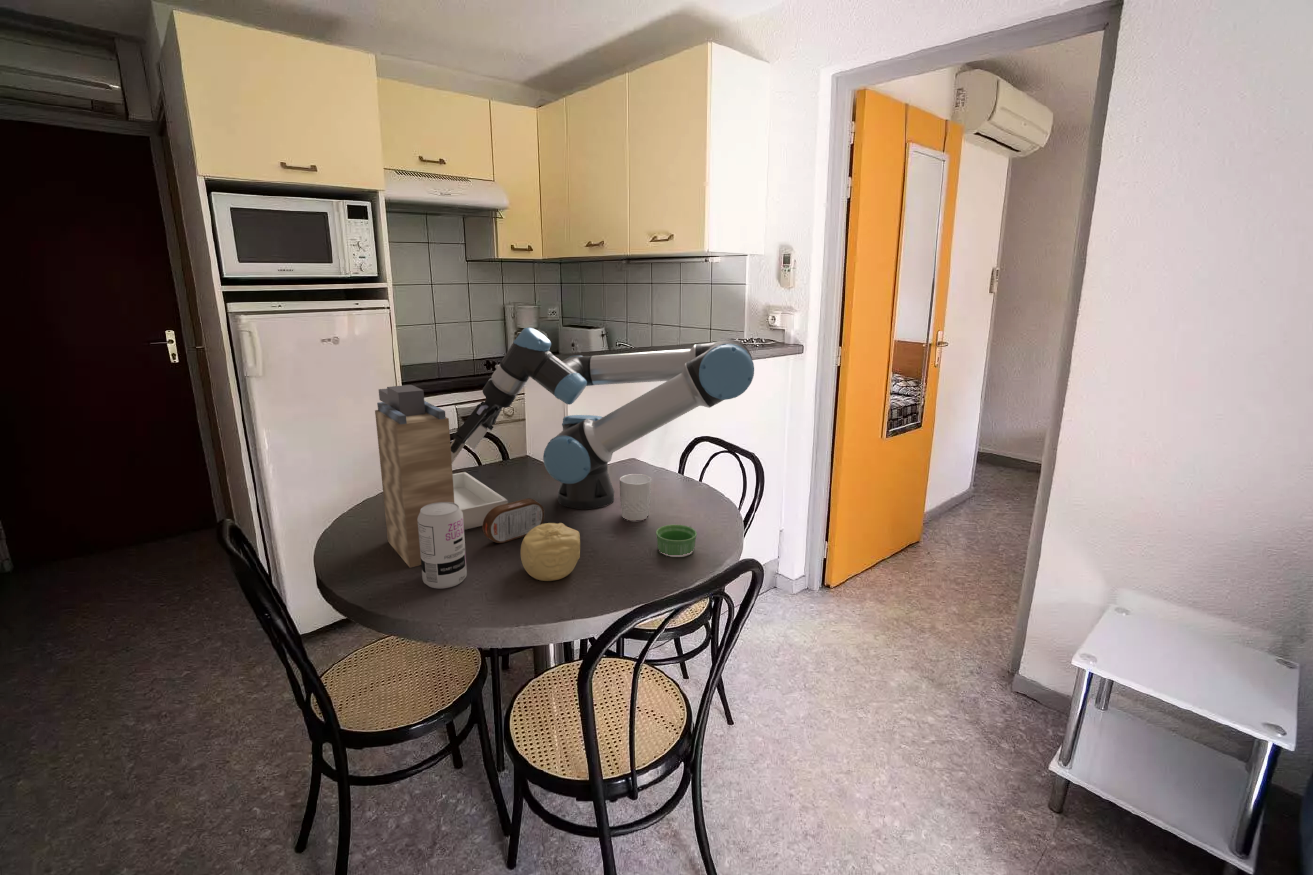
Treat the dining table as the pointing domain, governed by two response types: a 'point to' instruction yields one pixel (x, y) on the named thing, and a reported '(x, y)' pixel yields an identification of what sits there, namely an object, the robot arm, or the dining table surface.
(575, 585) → the dining table surface
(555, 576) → the sculpture
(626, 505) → the white cup
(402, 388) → the dark grey rectangular block
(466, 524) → the bin
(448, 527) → the supplement can
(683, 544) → the ramekin
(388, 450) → the stand
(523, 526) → the tin
